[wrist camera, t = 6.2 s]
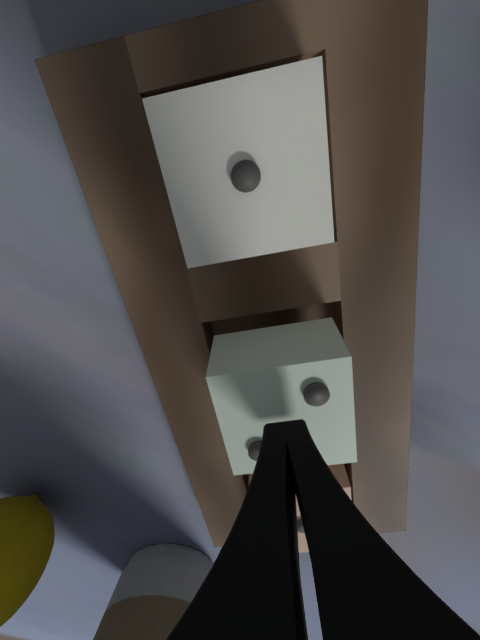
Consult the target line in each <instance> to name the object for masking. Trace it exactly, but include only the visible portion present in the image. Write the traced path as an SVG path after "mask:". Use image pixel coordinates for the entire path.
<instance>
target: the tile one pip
mask: <svg viewBox="0 0 480 640" xmlns="http://www.w3.org/2000/svg"><path fill="white" fill-rule="evenodd" d="M142 101H143V105H144V108H145V112H146V116H147V120H148V123H149V127H150V131H151V135H152V138H153V142H154V146H155V150H156V153H157V157H158V161H159V164H160V168H161V172H162V176H163V179H164V183H165V187H166V191H167V194H168V198H169V202H170V206H171V209H172V213H173V217H174V220H175V224H176V228H177V232H178V235H179V239H180V243H181V247H182V250H183V254H184V258H185V262H186V265H187V268H193V267H199V266H204V265H210V264H215V263H221V262H227V261H232V260H238V259H243V258H249V257H255V256H260V255H266V254H271V253H277V252H283V251H288V250H294V249H299V248H305V247H311V246H316V245H322V244H327V243H333V242H334V227H333V213H332V198H331V183H330V168H329V153H328V138H327V123H326V108H325V93H324V78H323V63H322V56H319V57H315V58H310V59H306V60H302V61H298V62H294V63H289V64H285V65H281V66H277V67H273V68H269V69H264V70H260V71H256V72H252V73H248V74H243V75H239V76H235V77H231V78H227V79H222V80H218V81H214V82H210V83H206V84H201V85H197V86H193V87H189V88H185V89H181V90H176V91H172V92H168V93H164V94H160V95H155V96H151V97H147V98H143V99H142Z"/></svg>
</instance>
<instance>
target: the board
mask: <svg viewBox="0 0 480 640" xmlns="http://www.w3.org/2000/svg"><path fill="white" fill-rule="evenodd" d="M427 19H428V0H259V1H255V2H251V3H247V4H243V5H240V6H236V7H232V8H228V9H224V10H221V11H217V12H213V13H209V14H205V15H201V16H198V17H194V18H190V19H186V20H182V21H178V22H175V23H171V24H167V25H163V26H159V27H156V28H152V29H148V30H144V31H140V32H136V33H133V34H129V35H125V36H121V37H117V38H113V39H110V40H106V41H102V42H98V43H94V44H91V45H87V46H83V47H79V48H75V49H71V50H68V51H64V52H60V53H56V54H52V55H48V56H45V57H41V58H37V59H34V60H35V62H36V65H37V68H38V70H39V73H40V76H41V79H42V81H43V84H44V87H45V89H46V92H47V95H48V98H49V100H50V103H51V106H52V108H53V111H54V114H55V116H56V119H57V122H58V125H59V127H60V130H61V133H62V135H63V138H64V141H65V143H66V146H67V149H68V152H69V154H70V157H71V160H72V162H73V165H74V168H75V171H76V173H77V176H78V179H79V181H80V184H81V187H82V189H83V192H84V195H85V198H86V200H87V203H88V206H89V208H90V211H91V214H92V216H93V219H94V222H95V225H96V227H97V230H98V233H99V235H100V238H101V241H102V244H103V246H104V249H105V252H106V254H107V257H108V260H109V262H110V265H111V268H112V271H113V273H114V276H115V279H116V281H117V284H118V287H119V290H120V292H121V295H122V298H123V300H124V303H125V306H126V308H127V311H128V314H129V317H130V319H131V322H132V325H133V327H134V330H135V333H136V335H137V338H138V341H139V344H140V346H141V349H142V352H143V354H144V357H145V360H146V363H147V365H148V368H149V371H150V373H151V376H152V379H153V381H154V384H155V387H156V390H157V392H158V395H159V398H160V400H161V403H162V406H163V408H164V411H165V414H166V417H167V419H168V422H169V425H170V427H171V430H172V433H173V436H174V438H175V441H176V444H177V446H178V449H179V452H180V454H181V457H182V460H183V463H184V465H185V468H186V471H187V473H188V476H189V479H190V481H191V484H192V487H193V490H194V492H195V495H196V498H197V500H198V503H199V506H200V509H201V511H202V514H203V517H204V519H205V522H206V525H207V527H208V530H209V533H210V536H211V538H212V541H213V544H214V546H215V547H220V546H223V545H224V543H225V541H226V539H227V537H228V535H229V533H230V531H231V529H232V526H233V524H234V522H235V520H236V518H237V515H238V513H239V511H240V508H241V506H242V503H243V500H244V498H245V495H246V492H247V490H248V487H249V474H243V475H233V472H232V468H231V465H230V461H229V458H228V454H227V451H226V447H225V444H224V440H223V437H222V433H221V430H220V426H219V423H218V419H217V416H216V412H215V409H214V405H213V402H212V398H211V395H210V391H209V388H208V384H207V380H206V372H207V368H208V363H209V358H210V353H211V348H212V343H213V338H214V336H215V335H221V334H228V333H234V332H241V331H247V330H253V329H260V328H266V327H273V326H279V325H286V324H292V323H299V322H305V321H312V320H318V319H325V318H331V317H332V319H333V320H334V322H335V324H336V326H337V328H338V330H339V332H340V334H341V336H342V338H343V340H344V342H345V344H346V346H347V348H348V350H349V352H350V354H351V356H352V371H353V391H354V410H355V429H356V448H357V462H354V463H345V464H344V466H345V470H346V473H347V476H348V480H349V483H350V486H351V498H352V502H353V503H354V504H355V506H356V507H357V508H358V510H359V511H360V512H361V513H362V515H363V516H364V517H365V518H366V520H367V521H368V522H369V523H370V524H371V526H372V527H373V528H374V529H375V530H376V532H377V533H383V532H396V531H406V516H407V514H406V513H407V492H408V469H409V445H410V422H411V398H412V374H413V351H414V327H415V303H416V279H417V256H418V232H419V208H420V185H421V161H422V137H423V114H424V90H425V66H426V43H427ZM319 56H322V63H323V78H324V93H325V108H326V123H327V138H328V153H329V168H330V183H331V198H332V213H333V227H334V242H333V243H327V244H322V245H316V246H311V247H305V248H299V249H294V250H288V251H283V252H277V253H271V254H266V255H260V256H255V257H249V258H243V259H238V260H232V261H227V262H221V263H215V264H210V265H204V266H199V267H193V268H187V265H186V262H185V258H184V254H183V250H182V247H181V243H180V239H179V235H178V232H177V228H176V224H175V220H174V217H173V213H172V209H171V206H170V202H169V198H168V194H167V191H166V187H165V183H164V179H163V176H162V172H161V168H160V164H159V161H158V157H157V153H156V150H155V146H154V142H153V138H152V135H151V131H150V127H149V123H148V120H147V116H146V112H145V108H144V105H143V101H142V99H143V98H147V97H151V96H155V95H160V94H164V93H168V92H172V91H176V90H181V89H185V88H189V87H193V86H197V85H201V84H206V83H210V82H214V81H218V80H222V79H227V78H231V77H235V76H239V75H243V74H248V73H252V72H256V71H260V70H264V69H269V68H273V67H277V66H281V65H285V64H289V63H294V62H298V61H302V60H306V59H310V58H315V57H319Z"/></svg>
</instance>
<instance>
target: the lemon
mask: <svg viewBox="0 0 480 640" xmlns="http://www.w3.org/2000/svg"><path fill="white" fill-rule="evenodd" d="M54 537H55V533H54V522H53V519H52V516H51V514H50V512H49V510H48V509H47V508H46V507H45V506H44V505H43V504H42V503H41V501H40V498H39V496H37V495H34V494H33V495H29V496H26V497H25V496H11V497H5V498H2V499H0V626H2V625H3V624H4V623H5V622H6V621H7V620H9V619H10V618H11V617H12V616H13V615H14V614H15V613H16V612H17V610H18V609H19V608H20V607H21V606H22V604H23V603H24V602H25V601H26V599H27V598H28V597H29V595H30V594H31V592H32V591H33V589H34V588H35V586H36V585H37V583H38V581H39V579H40V578H41V576H42V574H43V572H44V570H45V568H46V565H47V562H48V560H49V557H50V554H51V551H52V548H53V544H54Z"/></svg>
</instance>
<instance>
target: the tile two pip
mask: <svg viewBox="0 0 480 640" xmlns="http://www.w3.org/2000/svg"><path fill="white" fill-rule="evenodd" d="M206 380H207V384H208V388H209V391H210V395H211V398H212V402H213V405H214V409H215V412H216V416H217V419H218V423H219V426H220V430H221V433H222V437H223V440H224V444H225V447H226V451H227V454H228V458H229V461H230V465H231V468H232V472H233V475H243V474H252V473H253V472H254V469H255V465H256V462H257V459H258V455H259V451H260V447H261V442H262V436H263V428H264V426H265V425H266V424H267V423H275V422H283V421H291V420H299V419H302V420H304V421H305V422H306V425H307V428H308V430H309V432H310V435H311V437H312V439H313V441H314V443H315V445H316V447H317V448H318V450H319V452H320V454H321V456H322V457H323V459H324V461H325V462H326V464H327V465H335V464H345V463H354V462H357V448H356V429H355V410H354V391H353V371H352V356H351V354H350V352H349V350H348V348H347V346H346V344H345V342H344V340H343V338H342V336H341V334H340V332H339V330H338V328H337V326H336V324H335V322H334V320H333V319H332V317H331V318H325V319H318V320H312V321H305V322H299V323H292V324H286V325H279V326H273V327H266V328H260V329H253V330H247V331H241V332H234V333H228V334H221V335H215V336H214V338H213V343H212V348H211V353H210V358H209V363H208V368H207V372H206Z"/></svg>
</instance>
